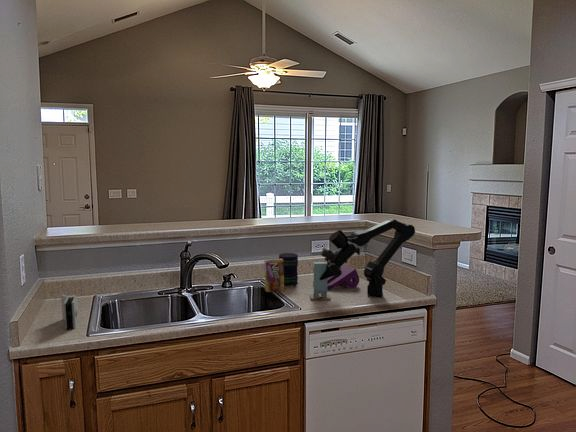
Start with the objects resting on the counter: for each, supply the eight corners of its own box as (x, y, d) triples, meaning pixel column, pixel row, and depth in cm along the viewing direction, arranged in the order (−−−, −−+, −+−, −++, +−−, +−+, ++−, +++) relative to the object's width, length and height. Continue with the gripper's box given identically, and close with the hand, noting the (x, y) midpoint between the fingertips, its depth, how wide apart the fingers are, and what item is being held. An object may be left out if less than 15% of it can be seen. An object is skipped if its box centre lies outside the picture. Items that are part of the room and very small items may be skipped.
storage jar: (287, 287, 220) (287, 257, 218) (274, 283, 227) (274, 254, 225) (301, 283, 226) (302, 255, 224) (289, 279, 234) (289, 252, 232)
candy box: (282, 288, 217) (282, 258, 216) (284, 291, 213) (284, 260, 211) (264, 289, 215) (264, 259, 213) (266, 292, 211) (266, 261, 209)
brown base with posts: (328, 296, 205) (329, 287, 205) (330, 300, 199) (330, 292, 198) (309, 296, 205) (309, 288, 204) (310, 300, 199) (310, 292, 198)
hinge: (62, 319, 174) (60, 294, 173) (77, 317, 177) (76, 292, 176) (65, 330, 163) (63, 304, 161) (81, 328, 165) (80, 302, 164)
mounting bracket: (333, 302, 216) (361, 282, 221) (327, 288, 213) (355, 268, 219) (323, 296, 224) (351, 278, 230) (317, 283, 221) (345, 264, 227)
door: (326, 291, 203) (326, 262, 201) (327, 293, 200) (327, 263, 198) (312, 291, 203) (313, 262, 201) (313, 293, 200) (313, 263, 198)
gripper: (329, 238, 208) (305, 261, 209) (334, 246, 190) (308, 271, 191) (345, 255, 209) (322, 277, 210) (352, 264, 191) (326, 289, 192)
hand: (319, 278), depth 201 cm, fingers closed on door, 3 cm apart
